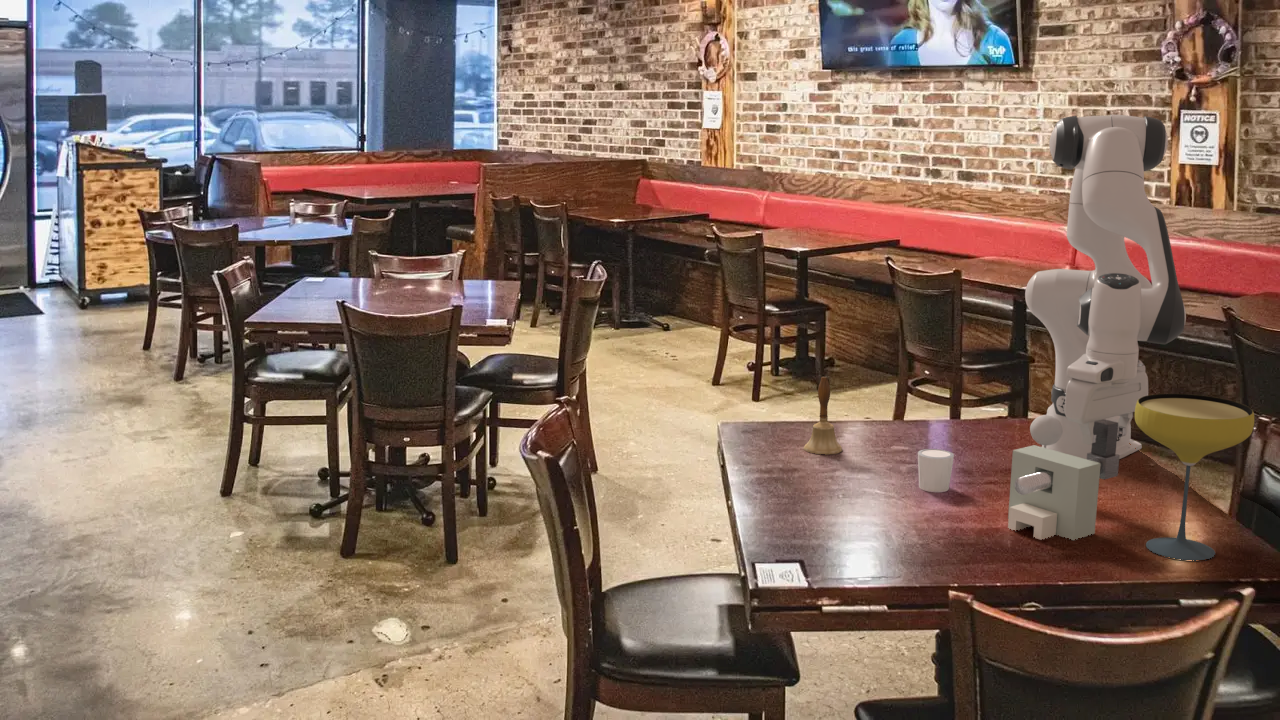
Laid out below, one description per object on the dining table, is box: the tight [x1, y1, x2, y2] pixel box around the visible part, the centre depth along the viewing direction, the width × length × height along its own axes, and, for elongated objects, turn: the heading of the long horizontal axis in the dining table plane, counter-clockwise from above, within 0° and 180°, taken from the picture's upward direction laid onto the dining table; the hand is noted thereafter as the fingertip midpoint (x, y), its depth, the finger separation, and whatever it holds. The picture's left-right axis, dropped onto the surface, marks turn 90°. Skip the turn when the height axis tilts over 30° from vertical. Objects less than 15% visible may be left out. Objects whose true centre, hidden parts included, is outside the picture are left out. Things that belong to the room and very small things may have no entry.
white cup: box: [917, 448, 955, 493], centre depth 246 cm, size 7×7×7 cm
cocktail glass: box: [1134, 393, 1255, 562], centre depth 211 cm, size 18×18×25 cm
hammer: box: [1014, 419, 1120, 495], centre depth 224 cm, size 25×4×10 cm, turn 125°
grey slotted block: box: [1007, 444, 1101, 541], centre depth 224 cm, size 6×14×13 cm, turn 35°
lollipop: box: [1029, 414, 1063, 448], centre depth 244 cm, size 6×6×15 cm
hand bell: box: [803, 376, 843, 456], centre depth 271 cm, size 8×8×16 cm
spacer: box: [1007, 503, 1057, 541], centre depth 221 cm, size 4×7×4 cm, turn 35°
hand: (1104, 439), depth 230 cm, fingers open, 8 cm apart
